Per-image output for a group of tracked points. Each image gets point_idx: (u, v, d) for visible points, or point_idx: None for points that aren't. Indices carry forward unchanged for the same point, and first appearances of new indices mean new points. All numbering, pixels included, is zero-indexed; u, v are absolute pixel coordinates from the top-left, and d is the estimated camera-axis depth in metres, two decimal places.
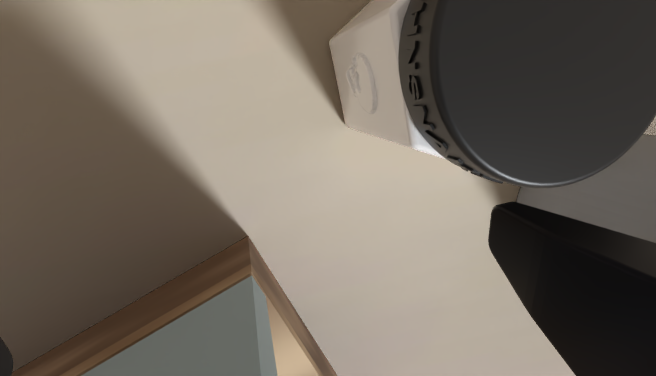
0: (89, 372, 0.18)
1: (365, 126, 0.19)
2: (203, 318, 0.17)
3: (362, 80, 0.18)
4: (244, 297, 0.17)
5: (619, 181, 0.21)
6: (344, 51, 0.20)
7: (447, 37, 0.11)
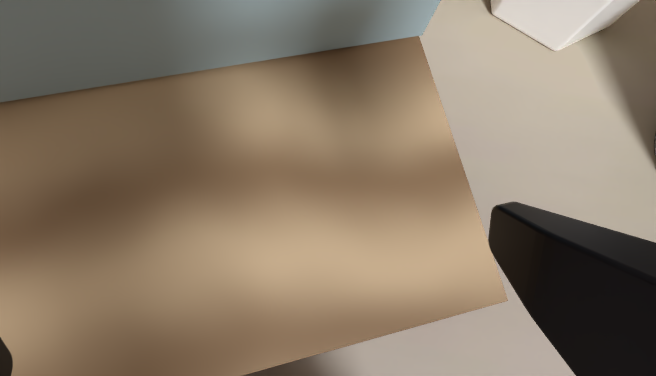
0: None
1: None
2: None
3: None
4: None
5: None
6: None
7: None
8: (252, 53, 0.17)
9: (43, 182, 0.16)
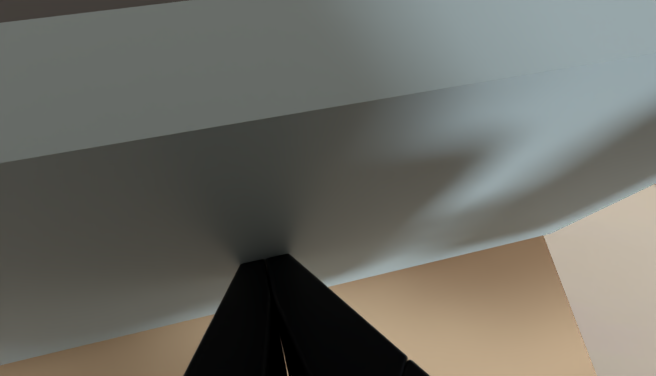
0: None
1: None
2: None
3: None
4: None
5: None
6: None
7: None
8: None
9: None
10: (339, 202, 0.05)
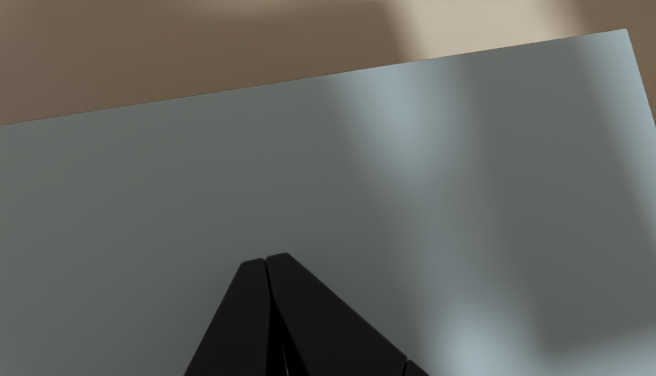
0: None
1: None
2: None
3: None
4: None
5: None
6: None
7: None
8: None
9: None
10: (310, 196, 0.08)
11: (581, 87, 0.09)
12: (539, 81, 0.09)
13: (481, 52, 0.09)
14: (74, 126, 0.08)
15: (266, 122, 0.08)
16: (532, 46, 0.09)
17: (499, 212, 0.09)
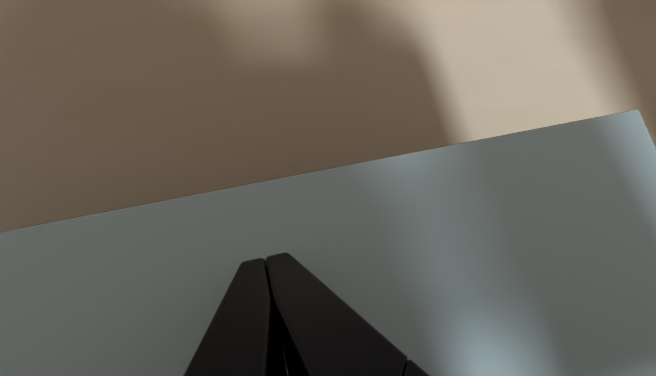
0: None
1: None
2: None
3: None
4: None
5: None
6: None
7: None
8: None
9: None
10: None
11: (599, 168, 0.09)
12: (556, 164, 0.09)
13: (496, 137, 0.09)
14: (95, 225, 0.08)
15: (284, 215, 0.08)
16: (545, 130, 0.10)
17: (528, 301, 0.08)
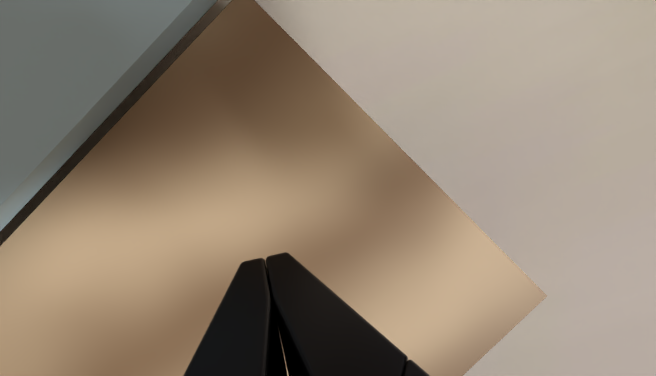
0: None
1: None
2: None
3: None
4: None
5: None
6: None
7: None
8: (17, 151, 0.12)
9: None
10: None
11: None
12: None
13: None
14: None
15: None
16: None
17: None
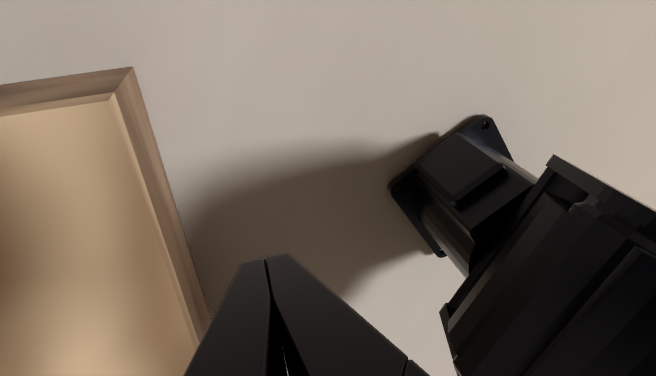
0: None
1: None
2: None
3: None
4: None
5: None
6: None
7: None
8: None
9: None
10: None
11: None
12: None
13: None
14: None
15: None
16: None
17: None
